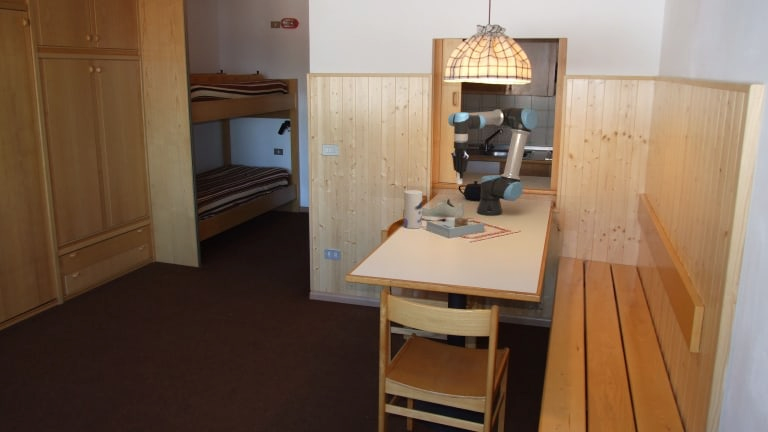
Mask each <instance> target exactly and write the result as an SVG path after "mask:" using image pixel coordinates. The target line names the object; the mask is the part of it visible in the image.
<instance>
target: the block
mask: <svg viewBox="0 0 768 432" xmlns="http://www.w3.org/2000/svg"><path fill="white" fill-rule="evenodd" d="M468 222H469V219H468V218H466V217H464V218H463V217H460V218H455V227H461V226H467V225H468Z"/></svg>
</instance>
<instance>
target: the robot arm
mask: <svg viewBox="0 0 768 432" xmlns="http://www.w3.org/2000/svg"><path fill="white" fill-rule="evenodd" d="M447 122H448V124H449V126H451V127H453V128H454V129H453V130H454V131H453V132H454V133H453V141H454V142H453V149H454V152H451V153H450V154H451V157H452V165H453V171H455V172H456V175H455V176H456V185H459V186H460V185H463V178H464V173H466V172H467V167H468V164H469V163H468V162H469V159H470V155H469V154H467V149H468V147H469V145H468V144H469V143H468V141H469V130H479V129H480V130H481V129H483V128H484V127H485V126H487V125H490V126H491V125H495V126H500V127H501V126H502V127H503V126H504V127H508V128H510V131H511V133H512V134H511V140H510V144H509V148H508V151H507V152H508V153H507V158H506V161H505V162H506V164H505V166H504V171H503V173H502V174H501V175H500V174H496V175H495V174H492V175H484V176H482V177H481V180H480V184H481V199H480V201H479V203H478V207H477V208H476V213H477V214H479V215H484V216H500V215H502V214H503V208H502V204H501V201H500V200H504V201H508V202H514V201H517V200H518V199H519V198H520V197H521V195H522V193H523V190H524V189H523V184H522V183H521V178H520V176H519V175H520V169H521V166H522V162H523V156H524V152H525V148H526V144H527V138H528V136H529V135H530V134H531V133H532V130H534V129H535V128H536V127H537V124H538V115H537V114H536V111H534V110H533V109H530V108H525V107H505V108H499V109H498V108H497V109H494V110H493V111H492V110H491V111H479V112H476V111H475V112H466V111H465V112H459V111H458V112H454V113H453V112H452V113H451V114H449V116H448V120H447Z"/></svg>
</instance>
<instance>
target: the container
mask: <svg viewBox="0 0 768 432" xmlns="http://www.w3.org/2000/svg"><path fill="white" fill-rule="evenodd" d="M403 195H404V197H403V201H404V203H403V227H404V228H406V229H420V228H422V227H423V224H422V223H423V219H422V208H423V191H421V190H418V189H407V190H404V194H403Z"/></svg>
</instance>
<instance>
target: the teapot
mask: <svg viewBox="0 0 768 432" xmlns="http://www.w3.org/2000/svg"><path fill="white" fill-rule="evenodd" d="M478 182H479V181H478V180H474V181H473V183H472V182H471V183H467V184H466V185H463V184H460V185H459V186H458V191H459V192H460V194H462V195H463V196H464V198H465V199H466V200H469V201H479V202H480V199H481V183H478ZM461 188H464V190H463V191H462V189H461Z"/></svg>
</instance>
